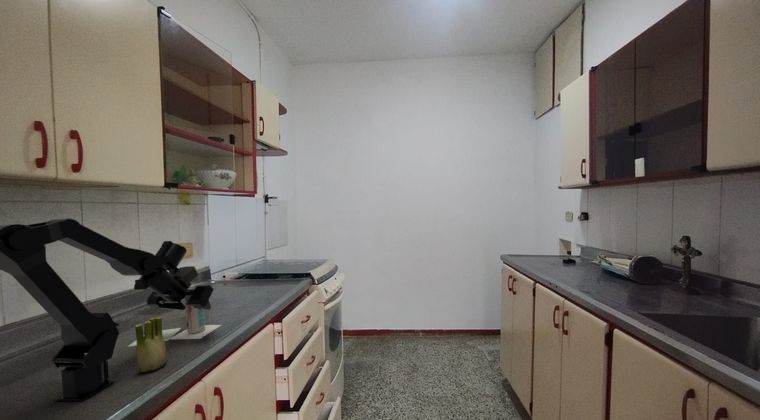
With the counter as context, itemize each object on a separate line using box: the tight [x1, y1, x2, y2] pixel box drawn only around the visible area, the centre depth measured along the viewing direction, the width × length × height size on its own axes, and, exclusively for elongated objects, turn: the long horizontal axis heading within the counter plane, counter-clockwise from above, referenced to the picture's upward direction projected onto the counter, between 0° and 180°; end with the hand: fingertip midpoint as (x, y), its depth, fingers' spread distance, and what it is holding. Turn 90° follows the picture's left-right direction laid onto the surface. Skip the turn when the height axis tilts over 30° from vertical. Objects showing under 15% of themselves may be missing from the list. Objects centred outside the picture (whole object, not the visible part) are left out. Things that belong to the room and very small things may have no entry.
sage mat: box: [127, 327, 182, 348], centre depth 91 cm, size 10×10×1 cm
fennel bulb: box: [134, 316, 167, 373], centre depth 71 cm, size 6×5×12 cm
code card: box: [168, 324, 222, 341], centre depth 93 cm, size 10×10×1 cm
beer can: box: [184, 298, 206, 334], centre depth 93 cm, size 5×5×12 cm
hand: (197, 308), depth 94 cm, fingers open, 9 cm apart
